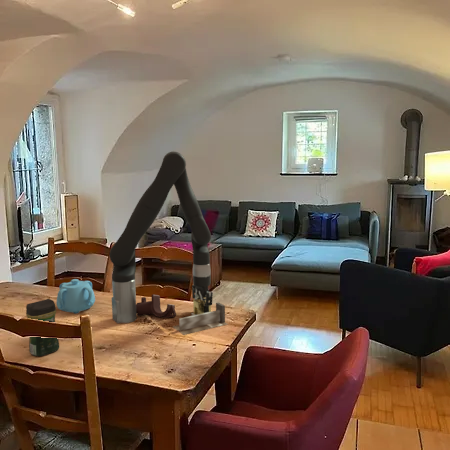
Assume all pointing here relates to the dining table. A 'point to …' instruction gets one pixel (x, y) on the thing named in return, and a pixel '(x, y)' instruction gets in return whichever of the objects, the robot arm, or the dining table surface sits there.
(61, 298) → the decorative pot
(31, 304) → the coffee jar
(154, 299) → the bracket
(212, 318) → the rail
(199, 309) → the block with knob
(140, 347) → the dining table surface
